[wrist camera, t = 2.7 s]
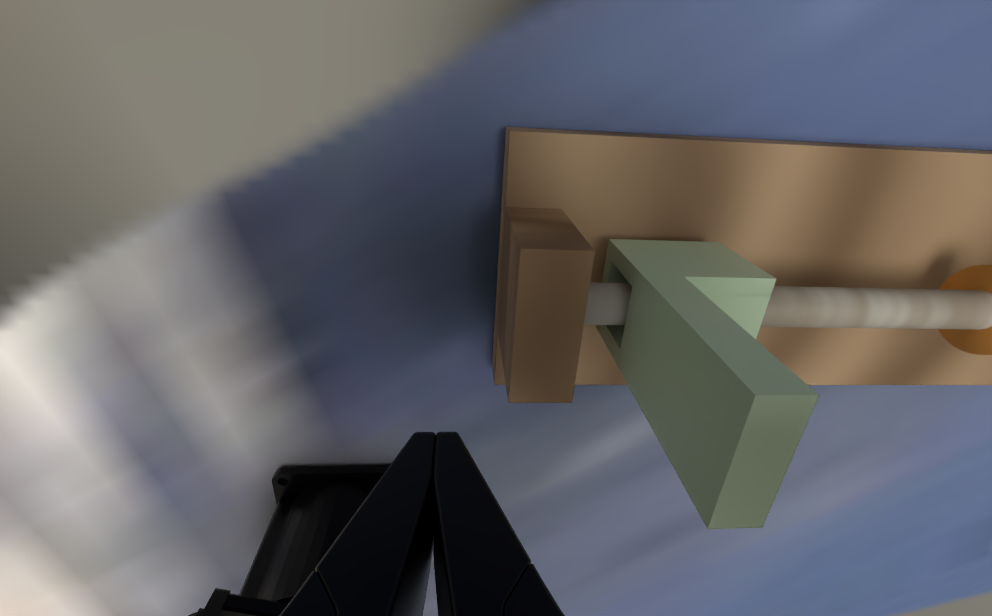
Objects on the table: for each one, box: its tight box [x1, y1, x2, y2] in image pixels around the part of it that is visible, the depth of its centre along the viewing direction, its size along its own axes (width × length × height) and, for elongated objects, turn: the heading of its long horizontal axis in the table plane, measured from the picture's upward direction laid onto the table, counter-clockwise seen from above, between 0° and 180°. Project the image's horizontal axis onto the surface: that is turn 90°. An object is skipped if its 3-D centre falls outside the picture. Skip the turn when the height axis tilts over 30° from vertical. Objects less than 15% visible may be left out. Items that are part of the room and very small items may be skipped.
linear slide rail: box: [492, 127, 992, 403], centre depth 17 cm, size 24×10×6 cm, turn 87°
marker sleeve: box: [595, 239, 819, 529], centre depth 13 cm, size 4×3×9 cm
